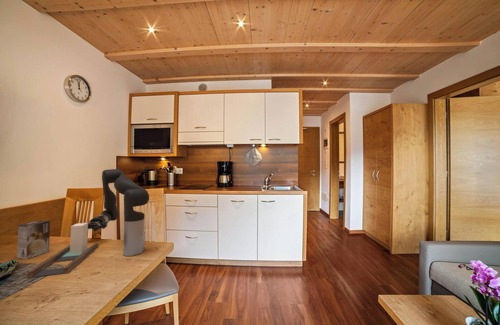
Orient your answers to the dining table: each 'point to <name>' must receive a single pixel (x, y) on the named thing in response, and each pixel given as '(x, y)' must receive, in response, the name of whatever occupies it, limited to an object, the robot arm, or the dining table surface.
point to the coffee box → (33, 239)
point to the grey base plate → (55, 271)
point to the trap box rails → (60, 254)
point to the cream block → (78, 238)
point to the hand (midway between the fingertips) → (85, 230)
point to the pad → (71, 254)
